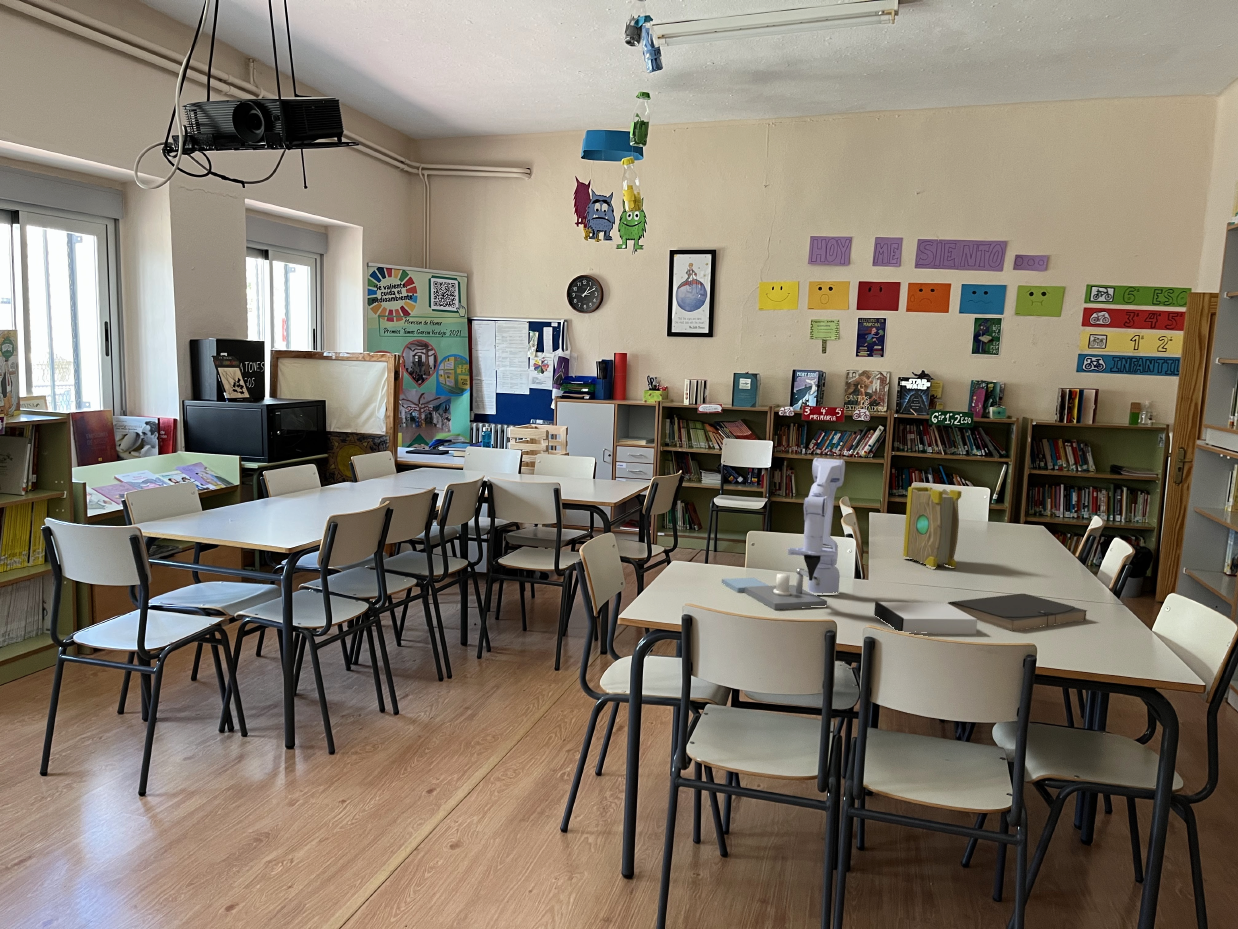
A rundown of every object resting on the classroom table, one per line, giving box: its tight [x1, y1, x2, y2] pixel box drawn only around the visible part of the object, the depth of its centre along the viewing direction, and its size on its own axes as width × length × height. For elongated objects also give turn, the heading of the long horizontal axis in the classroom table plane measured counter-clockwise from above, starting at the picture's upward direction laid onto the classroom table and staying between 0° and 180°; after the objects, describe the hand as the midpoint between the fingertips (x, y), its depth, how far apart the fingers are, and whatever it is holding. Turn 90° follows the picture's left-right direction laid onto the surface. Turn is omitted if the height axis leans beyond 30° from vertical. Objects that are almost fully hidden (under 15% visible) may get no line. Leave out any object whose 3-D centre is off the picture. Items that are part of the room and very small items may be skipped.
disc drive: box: [873, 600, 978, 635], centre depth 242 cm, size 18×22×5 cm
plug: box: [773, 573, 791, 596], centre depth 263 cm, size 5×5×8 cm
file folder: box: [947, 593, 1089, 632], centre depth 257 cm, size 33×4×24 cm
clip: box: [795, 567, 820, 586], centre depth 260 cm, size 12×2×3 cm, turn 18°
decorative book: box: [902, 486, 962, 568], centre depth 325 cm, size 20×11×30 cm, turn 18°
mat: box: [721, 577, 770, 593], centre depth 278 cm, size 12×12×2 cm
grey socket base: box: [743, 573, 828, 611], centre depth 263 cm, size 18×20×8 cm
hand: (810, 579), depth 255 cm, fingers closed
